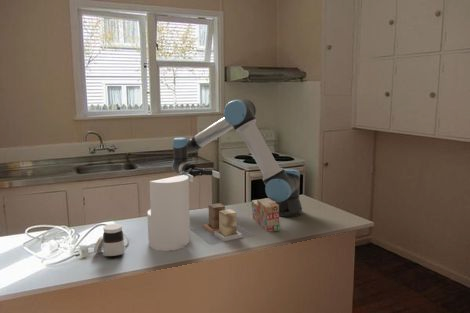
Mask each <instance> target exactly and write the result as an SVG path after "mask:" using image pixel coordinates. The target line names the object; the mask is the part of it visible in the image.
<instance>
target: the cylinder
mask: <svg viewBox="0 0 470 313" xmlns="http://www.w3.org/2000/svg"><path fill="white" fill-rule="evenodd" d="M189 184H190V181H189V177H188V176H187V175H180V174H179V175H175V176H170V177H166V178H160V179H155V180H150V181H149V200H150V209H148V210H147V212H146V213H147V214H146V215H147V234H148V235H147V236H148V238H147V239H148V247H149V248H151V249H153V250H155V251H159V252H160V251H163V252H168V251H169V250H172V251H176V250H177V249H178V250H181V249H184V248H186V247H187V245H188V244H189V243H190V241H191V230H190V227H191V225H190V224H191V223H190V185H189ZM183 247H184V248H183ZM180 248H181V249H180Z"/></svg>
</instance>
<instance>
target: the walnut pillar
mask: <svg viewBox="0 0 470 313" xmlns="http://www.w3.org/2000/svg"><path fill="white" fill-rule="evenodd" d="M222 210H226V206H225V205H224V204H222V203H220V202H218V203H212V204H211V203H210V204H208V223H209V227H211V228H212V229H217V228H219V211H222Z"/></svg>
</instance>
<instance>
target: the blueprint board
mask: <svg viewBox="0 0 470 313" xmlns="http://www.w3.org/2000/svg"><path fill="white" fill-rule="evenodd" d="M191 231H192V232H193V233H194V234H195V235H196V236H198V237H199V238H201V239H202V240H203V241H205V242H206V243H207V244H208V245H217V244H220V243H225V242H230V241H234V240H240V239H244V238H249V237H253V236H255V235H256V234H255V233H253V232H251V231H250V230H248V229H246V228H244V227H243V226H241V225H239V224H238V223H236V234H235V235H230V236H226V237H224V236H223V235H221V234H220V233H219V228H217V229H212V228H211V227H209V222H208V223H203V226H202V227H198V228H197V227H196V228H192V229H190V232H191Z"/></svg>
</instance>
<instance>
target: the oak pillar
mask: <svg viewBox="0 0 470 313" xmlns="http://www.w3.org/2000/svg"><path fill="white" fill-rule="evenodd" d="M236 224H237V212H236V211H235V210H233V209H231V208H230V209H225V210H222V211H219V233H220V234H221V235H223V236H224V237H226V236H230V235H235V234H236Z"/></svg>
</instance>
